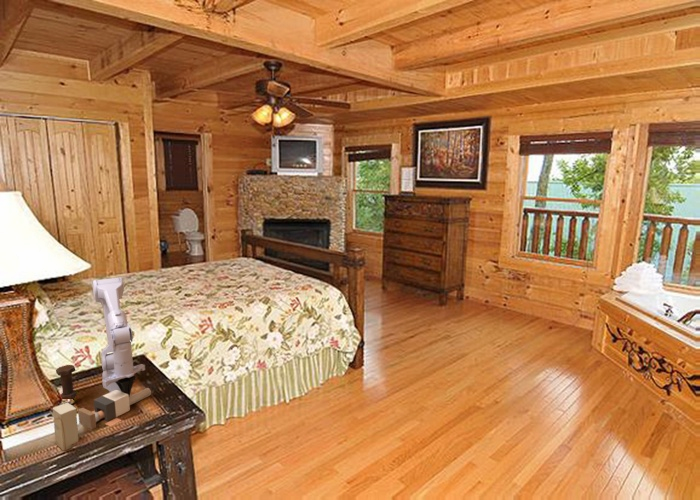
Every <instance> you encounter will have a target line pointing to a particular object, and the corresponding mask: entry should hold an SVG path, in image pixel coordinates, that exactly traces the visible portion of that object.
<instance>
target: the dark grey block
mask: <svg viewBox="0 0 700 500" xmlns="http://www.w3.org/2000/svg"><path fill="white" fill-rule="evenodd" d="M93 409H94V411H95V412H99V411H101V410H103V411H104V414H105V417H104V421H105V422H106V423H107V422H109V421H111V420H113V419H115V418H117V417H116V410H115V401H113V400H111V399H108V398H106V397H104V396H103V395H101V396H99V397H97V398H94V399H93Z"/></svg>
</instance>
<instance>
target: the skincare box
mask: <svg viewBox="0 0 700 500" xmlns="http://www.w3.org/2000/svg"><path fill="white" fill-rule="evenodd" d="M77 413H78V412H77V408H76V407H75V406H74V405H71V404H69V403H68V402H67V403H64V402H63V403H62V404H59V405H56V406H54V407H52V414H53V415H52V416H53V417H52V418H53V425H54V426H53V428H54V440H55V444H56V445H57V447H59V448H60V449H61V450H62V451H63V452H65V451H67V450H69V449H72V448H74V445H73V444H77V443H78V442H80V440H79V431H78V430H79V429H78V427H79V426H78V415H77Z"/></svg>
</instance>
